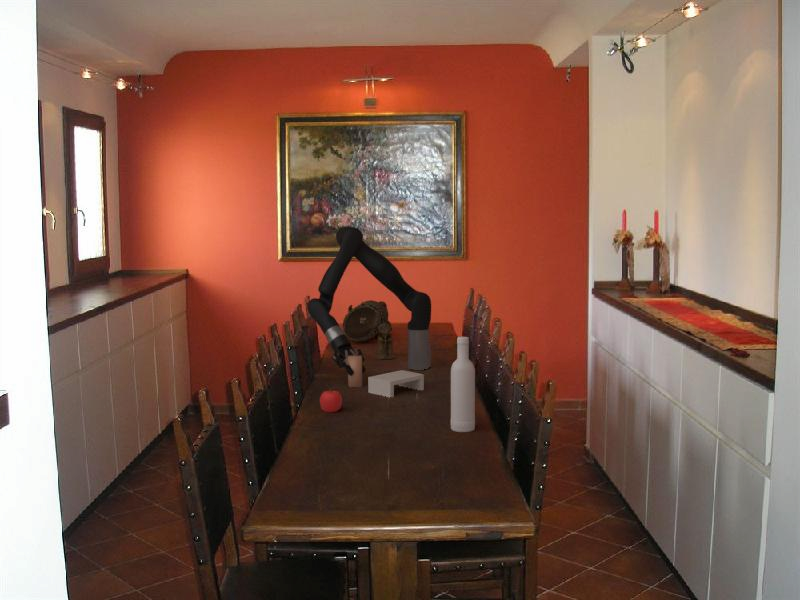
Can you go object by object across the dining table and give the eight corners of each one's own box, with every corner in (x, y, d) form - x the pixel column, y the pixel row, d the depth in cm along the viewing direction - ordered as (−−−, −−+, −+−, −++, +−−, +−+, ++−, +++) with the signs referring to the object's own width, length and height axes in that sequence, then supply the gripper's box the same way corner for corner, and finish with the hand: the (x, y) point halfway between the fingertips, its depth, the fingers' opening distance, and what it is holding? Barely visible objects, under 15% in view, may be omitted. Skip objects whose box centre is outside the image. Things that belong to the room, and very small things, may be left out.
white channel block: (401, 385, 352) (401, 370, 352) (423, 389, 344) (423, 374, 343) (368, 392, 340) (368, 377, 339) (390, 397, 331) (390, 381, 331)
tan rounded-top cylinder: (355, 383, 355) (355, 354, 354) (365, 386, 351) (364, 356, 350) (345, 386, 351) (344, 356, 350) (354, 388, 347) (354, 358, 346)
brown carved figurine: (375, 361, 400) (374, 322, 398) (375, 356, 413) (375, 317, 411) (394, 361, 400) (394, 322, 398) (394, 356, 413) (394, 317, 411)
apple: (333, 414, 307) (333, 392, 306) (315, 411, 311) (314, 389, 310) (346, 409, 314) (346, 387, 313) (328, 407, 318) (328, 385, 317)
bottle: (458, 433, 283) (458, 340, 279) (445, 427, 289) (445, 336, 286) (479, 430, 286) (480, 338, 282) (466, 424, 293) (467, 334, 289)
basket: (344, 308, 478) (331, 307, 444) (382, 290, 476) (371, 287, 442) (363, 348, 476) (351, 349, 442) (401, 330, 474) (392, 329, 439)
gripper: (328, 336, 349) (348, 370, 342) (355, 331, 359) (376, 364, 352) (319, 347, 353) (340, 381, 346) (346, 343, 363) (367, 376, 356)
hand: (358, 373), depth 349 cm, fingers closed on tan rounded-top cylinder, 5 cm apart
